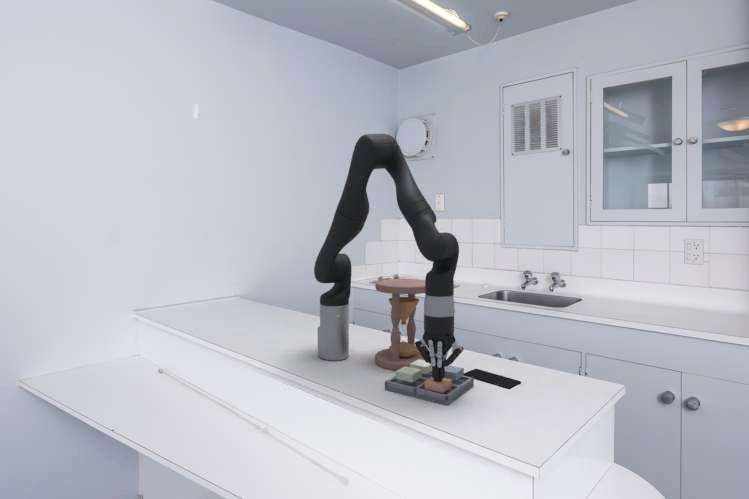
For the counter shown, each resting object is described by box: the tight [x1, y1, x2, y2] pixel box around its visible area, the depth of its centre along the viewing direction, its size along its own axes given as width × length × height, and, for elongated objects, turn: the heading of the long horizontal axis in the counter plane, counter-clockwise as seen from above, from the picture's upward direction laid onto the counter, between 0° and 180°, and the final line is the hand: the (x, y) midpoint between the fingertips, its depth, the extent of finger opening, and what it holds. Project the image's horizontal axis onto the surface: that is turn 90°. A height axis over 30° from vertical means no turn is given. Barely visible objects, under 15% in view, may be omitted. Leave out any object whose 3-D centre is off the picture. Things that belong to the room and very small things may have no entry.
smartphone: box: [464, 368, 522, 390], centre depth 131 cm, size 7×1×15 cm
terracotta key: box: [425, 377, 452, 393], centre depth 119 cm, size 5×5×2 cm
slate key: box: [444, 364, 465, 381], centre depth 125 cm, size 5×5×2 cm
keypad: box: [384, 371, 475, 407], centre depth 124 cm, size 18×16×2 cm
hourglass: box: [374, 278, 425, 372], centre depth 145 cm, size 18×18×25 cm
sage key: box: [394, 366, 422, 382], centre depth 123 cm, size 5×5×2 cm
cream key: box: [410, 359, 432, 374], centre depth 130 cm, size 5×5×2 cm
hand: (438, 380), depth 118 cm, fingers closed
